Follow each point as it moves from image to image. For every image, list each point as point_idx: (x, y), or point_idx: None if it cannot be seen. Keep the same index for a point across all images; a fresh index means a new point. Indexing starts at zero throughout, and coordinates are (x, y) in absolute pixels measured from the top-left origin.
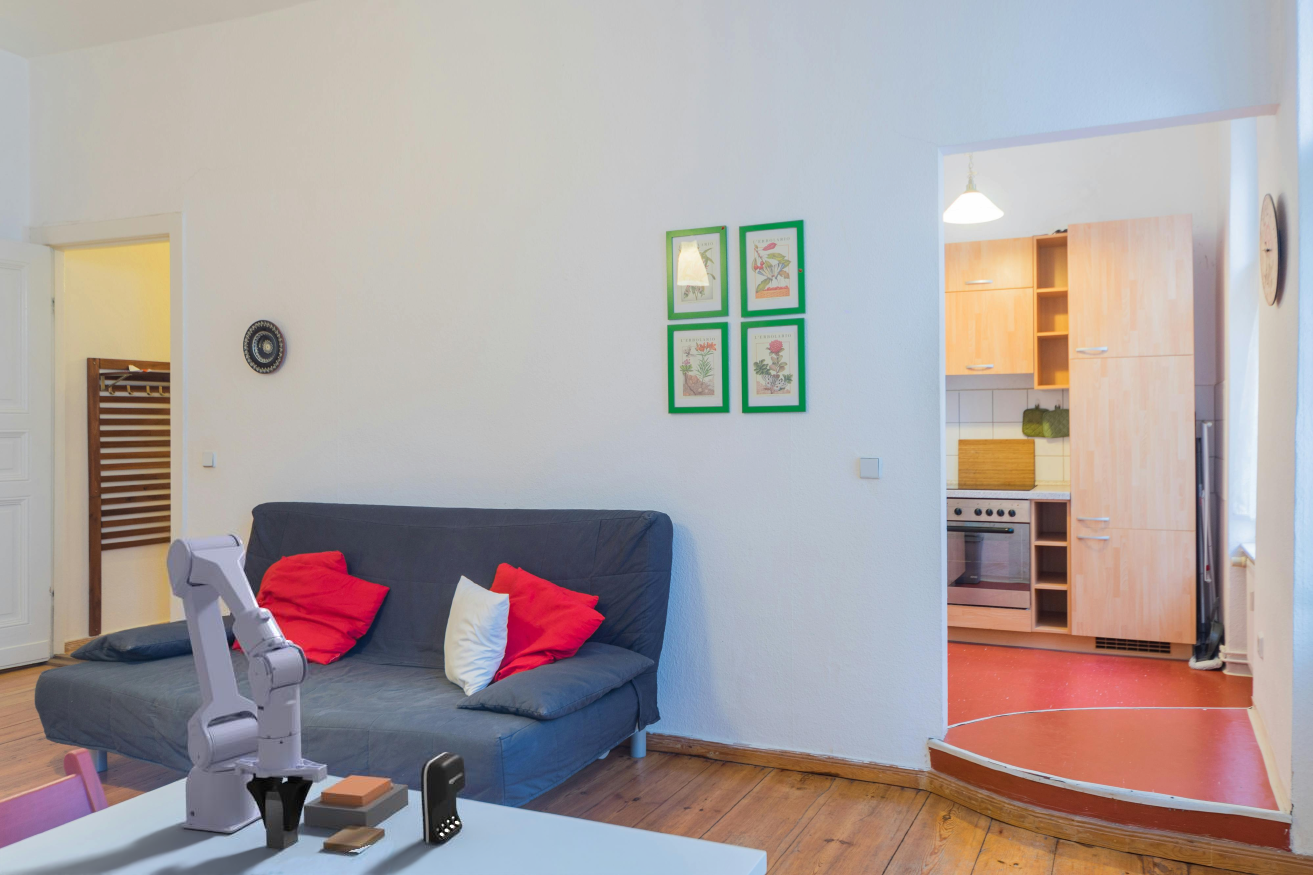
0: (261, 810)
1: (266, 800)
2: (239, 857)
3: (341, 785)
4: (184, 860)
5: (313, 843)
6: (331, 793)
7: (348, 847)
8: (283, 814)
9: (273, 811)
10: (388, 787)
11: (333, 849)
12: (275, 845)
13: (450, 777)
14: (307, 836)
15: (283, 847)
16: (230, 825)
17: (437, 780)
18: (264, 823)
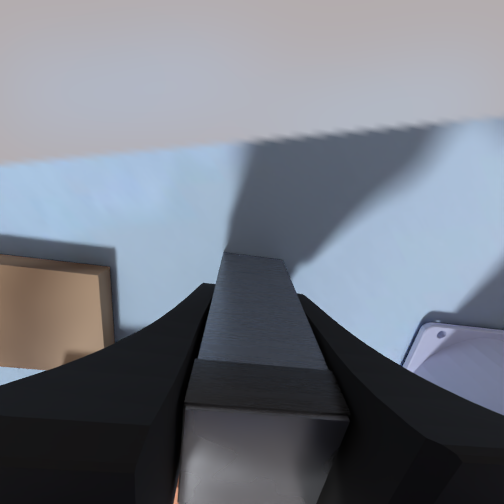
0: (331, 326)
1: (317, 364)
2: (328, 192)
3: None
4: (494, 155)
5: (165, 295)
6: (178, 484)
7: (8, 261)
8: (205, 309)
9: (265, 322)
10: None
11: (72, 263)
12: (252, 259)
13: None
14: None
15: (224, 254)
16: (442, 349)
17: None
18: (306, 299)
